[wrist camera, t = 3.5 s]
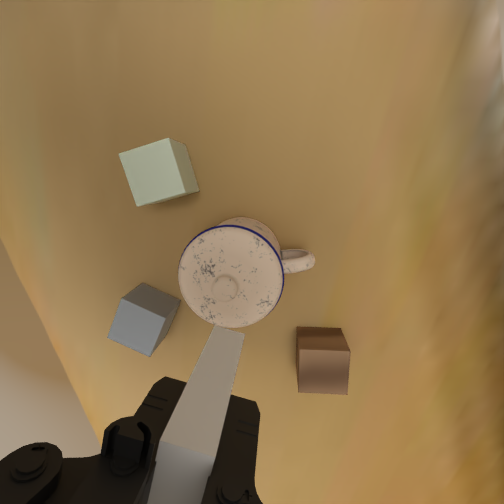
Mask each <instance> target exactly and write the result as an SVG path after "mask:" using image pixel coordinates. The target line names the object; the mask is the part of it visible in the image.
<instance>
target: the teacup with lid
mask: <svg viewBox="0 0 504 504" xmlns="http://www.w3.org/2000/svg"><path fill="white" fill-rule="evenodd" d="M314 264H315V257H314V254H313V253H312V252H310V251H308V250H303V249H286V250H280V246H279V243H278V240H277V238H276V236H275V235H274V233H273V232H272V231H271V230H270V229H269V228H268V227H267V226H266V225H264V224H263V223H261V222H259V221H257V220H255V219H252V218H247V217H236V218H231V219H228V220H225V221H223V222H221V223H220V224H218V225H217V226H215V227H212V228H209V229H207V230H205V231H203V232H201V233H200V234H198V235H197V236H196V237H195V238H193V239H192V240H191V241H190V243H189V244H188V245H187V247H186V248H185V250H184V252H183V254H182V256H181V259H180V263H179V268H178V280H179V286H180V290H181V293H182V295H183V297H184V299H185V301H186V303H187V304H188V306H189V307H190V308H191V309H192V310H193V311H194V312H195V313H196V314H197V315H198V316H199V317H201V318H202V319H204V320H205V321H207V322H209V323H211V324H214V325H217V326H221V327H227V328H239V327H245V326H248V325H251V324H254V323H256V322H258V321H259V320H261V319H263V318H264V317H265V316H267V315H268V314H269V313H270V312H271V311H272V310H273V308H274V307H275V306H276V304H277V303H278V301H279V299H280V297H281V294H282V291H283V286H284V274H288V273H296V272H302V271H305V270H308V269H310V268H312V267H313V266H314Z"/></svg>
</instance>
